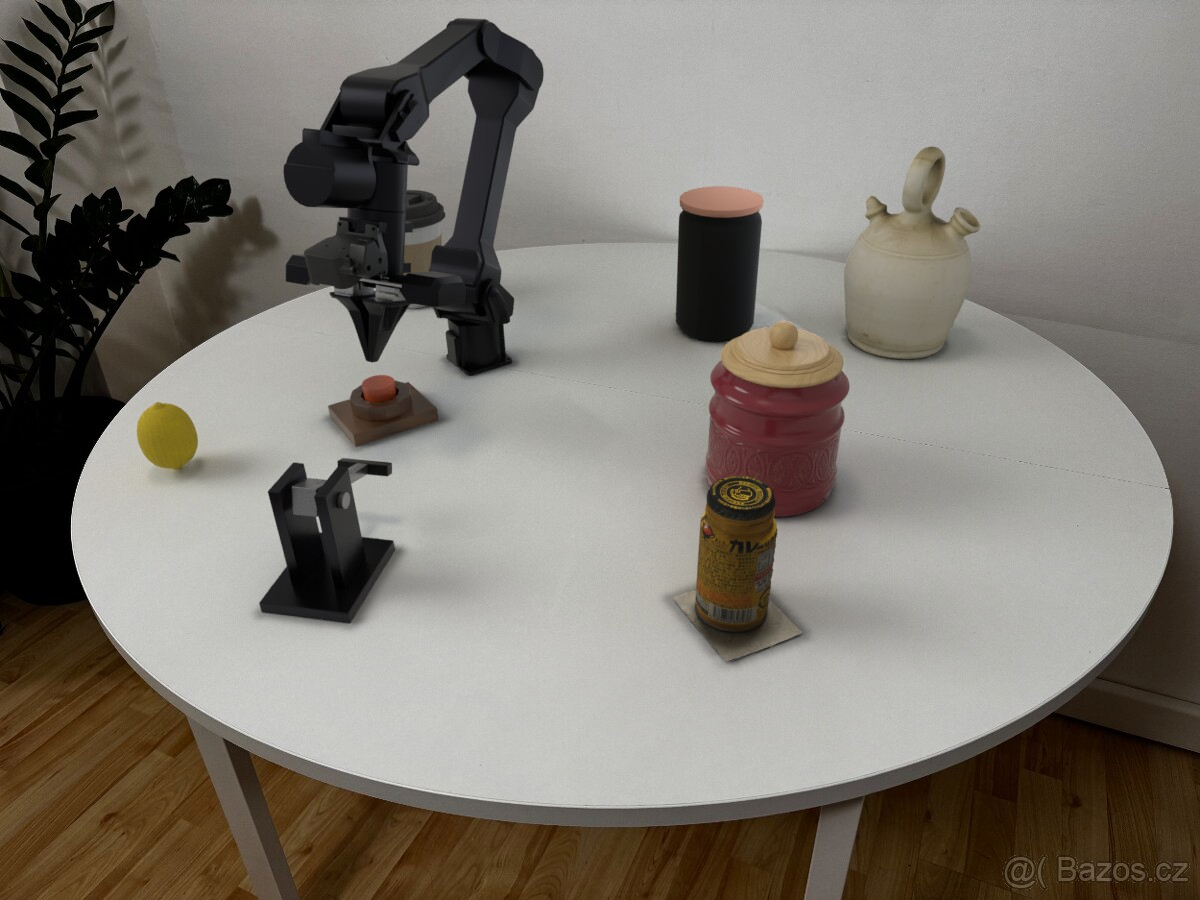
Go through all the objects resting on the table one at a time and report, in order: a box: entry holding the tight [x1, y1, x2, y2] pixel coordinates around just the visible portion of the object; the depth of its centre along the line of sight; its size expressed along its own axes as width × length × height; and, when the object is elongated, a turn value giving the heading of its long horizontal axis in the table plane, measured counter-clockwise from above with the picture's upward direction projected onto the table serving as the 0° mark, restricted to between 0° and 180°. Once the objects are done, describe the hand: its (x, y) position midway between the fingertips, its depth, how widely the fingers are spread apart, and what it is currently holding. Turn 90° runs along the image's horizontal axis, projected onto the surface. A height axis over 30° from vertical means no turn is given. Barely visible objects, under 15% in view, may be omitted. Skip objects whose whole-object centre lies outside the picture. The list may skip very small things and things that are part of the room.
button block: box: [327, 379, 440, 448], centre depth 102 cm, size 10×8×4 cm
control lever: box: [292, 457, 393, 518], centre depth 79 cm, size 12×5×2 cm, turn 169°
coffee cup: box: [403, 189, 446, 310], centre depth 129 cm, size 11×11×15 cm
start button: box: [361, 374, 396, 402], centre depth 101 cm, size 4×4×2 cm
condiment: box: [671, 476, 803, 662], centre depth 71 cm, size 7×8×12 cm
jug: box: [843, 146, 981, 360], centre depth 112 cm, size 15×16×25 cm
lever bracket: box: [259, 462, 396, 624], centre depth 76 cm, size 10×8×11 cm
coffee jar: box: [675, 185, 764, 344], centre depth 118 cm, size 11×11×18 cm
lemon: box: [136, 401, 199, 471], centre depth 93 cm, size 6×6×8 cm
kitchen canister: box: [704, 320, 851, 517], centre depth 86 cm, size 13×13×18 cm
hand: (372, 361), depth 94 cm, fingers closed
